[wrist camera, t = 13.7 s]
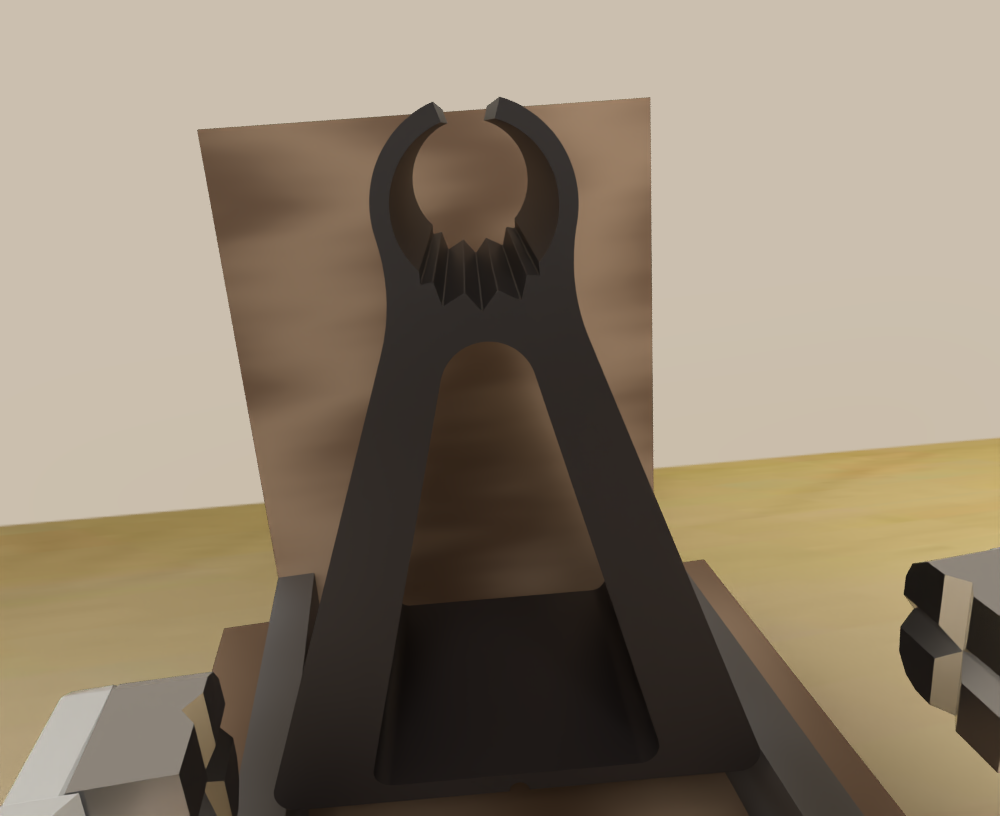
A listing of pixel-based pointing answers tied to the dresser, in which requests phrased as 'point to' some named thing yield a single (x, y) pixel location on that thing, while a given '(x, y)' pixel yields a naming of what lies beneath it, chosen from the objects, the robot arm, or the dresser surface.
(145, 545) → the dresser surface
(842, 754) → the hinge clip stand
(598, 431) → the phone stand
